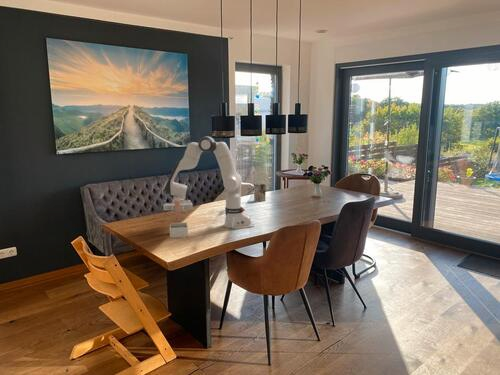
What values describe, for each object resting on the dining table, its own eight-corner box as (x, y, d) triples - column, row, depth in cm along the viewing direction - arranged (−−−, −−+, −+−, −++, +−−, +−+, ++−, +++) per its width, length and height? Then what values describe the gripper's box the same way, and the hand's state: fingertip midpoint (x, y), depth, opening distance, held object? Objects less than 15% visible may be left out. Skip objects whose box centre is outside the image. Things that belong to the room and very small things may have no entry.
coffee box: (261, 199, 370) (261, 183, 367) (265, 200, 365) (265, 184, 362) (253, 201, 365) (253, 184, 362) (258, 202, 360) (258, 185, 357)
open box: (187, 231, 273) (187, 222, 272) (187, 236, 261) (187, 227, 260) (170, 232, 271) (170, 223, 270) (170, 237, 259) (169, 228, 258)
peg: (181, 219, 267) (180, 200, 264) (181, 221, 263) (180, 201, 260) (175, 220, 266) (174, 200, 263) (175, 221, 262) (174, 201, 259)
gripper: (163, 200, 273) (162, 205, 260) (192, 199, 276) (192, 204, 263) (163, 209, 274) (162, 214, 261) (192, 208, 278) (192, 213, 264)
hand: (177, 209), depth 262 cm, fingers closed on peg, 4 cm apart
